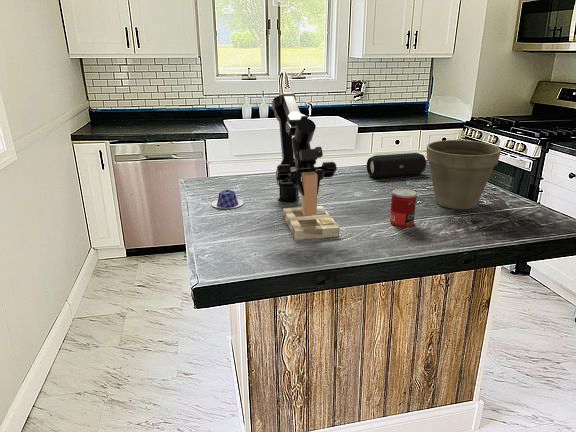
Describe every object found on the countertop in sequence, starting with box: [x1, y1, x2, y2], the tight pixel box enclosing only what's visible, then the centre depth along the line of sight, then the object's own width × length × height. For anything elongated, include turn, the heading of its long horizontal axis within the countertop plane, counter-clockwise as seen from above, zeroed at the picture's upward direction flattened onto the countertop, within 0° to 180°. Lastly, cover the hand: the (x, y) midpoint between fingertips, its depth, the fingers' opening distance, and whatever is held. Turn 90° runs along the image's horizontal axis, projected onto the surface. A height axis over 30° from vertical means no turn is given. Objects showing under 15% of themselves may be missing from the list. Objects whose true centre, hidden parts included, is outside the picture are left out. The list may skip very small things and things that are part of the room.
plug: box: [300, 172, 318, 216], centre depth 139 cm, size 4×4×13 cm
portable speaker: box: [366, 152, 427, 179], centre depth 202 cm, size 26×10×10 cm, turn 104°
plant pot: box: [426, 139, 502, 210], centre depth 164 cm, size 25×25×22 cm
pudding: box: [211, 189, 245, 210], centre depth 168 cm, size 12×12×5 cm
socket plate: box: [282, 205, 341, 241], centre depth 147 cm, size 20×14×3 cm
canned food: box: [389, 188, 418, 228], centre depth 148 cm, size 8×8×11 cm
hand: (310, 194), depth 137 cm, fingers closed on plug, 4 cm apart
